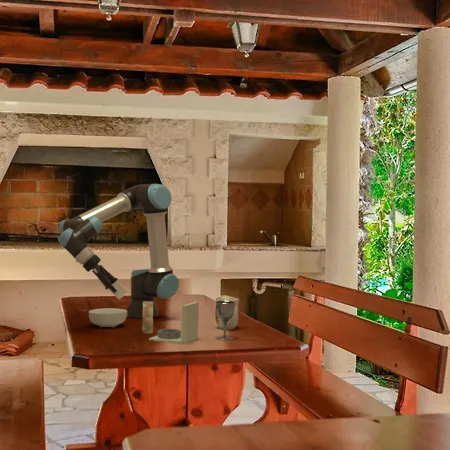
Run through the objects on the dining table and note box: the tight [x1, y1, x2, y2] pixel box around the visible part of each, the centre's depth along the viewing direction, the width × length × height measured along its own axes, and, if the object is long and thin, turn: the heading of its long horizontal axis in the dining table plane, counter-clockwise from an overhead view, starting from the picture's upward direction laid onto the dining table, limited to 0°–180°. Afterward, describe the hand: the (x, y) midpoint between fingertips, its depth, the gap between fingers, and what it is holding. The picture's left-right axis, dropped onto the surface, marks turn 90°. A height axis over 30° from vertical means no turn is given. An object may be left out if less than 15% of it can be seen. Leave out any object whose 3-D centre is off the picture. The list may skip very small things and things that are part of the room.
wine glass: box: [215, 300, 235, 341], centre depth 285 cm, size 8×8×15 cm
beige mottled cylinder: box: [141, 301, 154, 334], centre depth 294 cm, size 4×4×13 cm
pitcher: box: [214, 294, 240, 331], centre depth 308 cm, size 11×18×14 cm, turn 10°
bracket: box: [148, 301, 200, 345], centre depth 279 cm, size 16×12×15 cm
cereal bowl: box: [88, 307, 128, 328], centre depth 308 cm, size 17×17×7 cm
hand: (123, 295), depth 294 cm, fingers open, 13 cm apart
